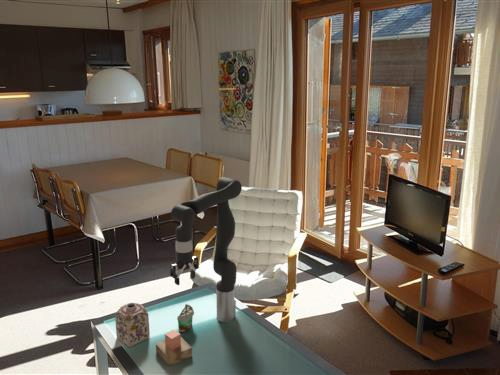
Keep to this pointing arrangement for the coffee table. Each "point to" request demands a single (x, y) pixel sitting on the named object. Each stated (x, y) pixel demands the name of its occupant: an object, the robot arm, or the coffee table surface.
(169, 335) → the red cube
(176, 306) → the coffee table surface
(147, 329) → the decorative jar
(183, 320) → the food container
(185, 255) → the robot arm
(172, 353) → the walnut block
